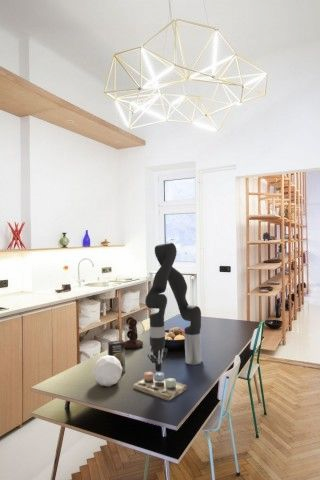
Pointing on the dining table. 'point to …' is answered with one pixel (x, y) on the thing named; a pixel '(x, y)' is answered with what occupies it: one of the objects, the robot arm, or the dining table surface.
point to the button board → (159, 388)
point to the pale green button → (170, 382)
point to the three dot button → (159, 376)
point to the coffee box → (117, 351)
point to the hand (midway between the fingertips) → (158, 370)
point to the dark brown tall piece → (132, 335)
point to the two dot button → (148, 376)
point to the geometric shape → (107, 370)
